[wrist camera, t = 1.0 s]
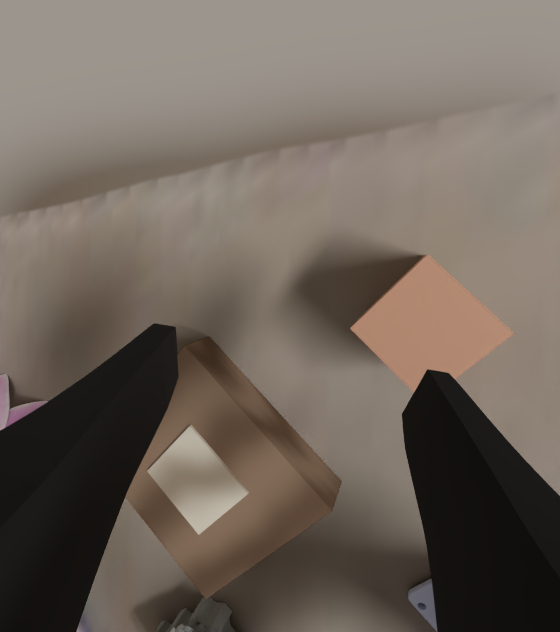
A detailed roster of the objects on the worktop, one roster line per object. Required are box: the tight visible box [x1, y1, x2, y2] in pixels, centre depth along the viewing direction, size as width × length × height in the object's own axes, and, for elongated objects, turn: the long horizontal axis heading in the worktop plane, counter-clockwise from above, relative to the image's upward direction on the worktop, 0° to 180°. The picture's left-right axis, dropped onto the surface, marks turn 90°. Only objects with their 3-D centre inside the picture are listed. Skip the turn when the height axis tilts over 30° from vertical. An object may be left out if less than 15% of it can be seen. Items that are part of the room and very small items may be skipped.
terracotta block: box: [350, 254, 514, 392], centre depth 18 cm, size 5×5×6 cm
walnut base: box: [125, 337, 341, 599], centre depth 26 cm, size 14×14×3 cm
